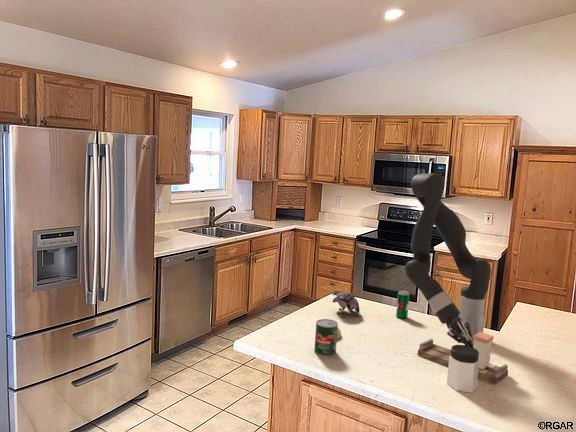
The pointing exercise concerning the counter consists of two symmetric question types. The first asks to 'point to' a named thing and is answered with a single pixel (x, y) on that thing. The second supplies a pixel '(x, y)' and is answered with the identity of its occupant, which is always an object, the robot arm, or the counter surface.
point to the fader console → (442, 357)
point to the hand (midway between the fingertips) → (473, 351)
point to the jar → (463, 368)
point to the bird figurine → (346, 301)
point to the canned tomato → (326, 337)
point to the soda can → (402, 304)
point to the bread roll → (338, 333)
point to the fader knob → (483, 348)
